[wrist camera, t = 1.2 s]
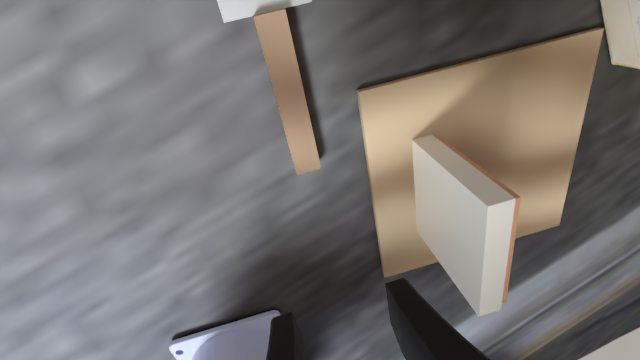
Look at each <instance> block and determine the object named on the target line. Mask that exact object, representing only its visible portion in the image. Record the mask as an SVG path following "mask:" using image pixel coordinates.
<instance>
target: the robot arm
mask: <svg viewBox="0 0 640 360" xmlns="http://www.w3.org/2000/svg"><path fill="white" fill-rule="evenodd" d="M385 285H386V292H387V300H388V307H389V314H390V321H391V325H392V327H393V330H394V333H395V335H396V338H397V340H398V343H399V345H400V348H401V350H402V353H403V355H404V357H405V359H406V360H490V359H489V358H487V357H486V356H485V355H484V354H483V353H482V352H480V351H479V350H478V349H477V348H476V347H474V346H473V345H472V344H471V343H470V342H469V341H467V340H466V339H465V338H464V337H463V336H462V335H461V334H460V333H459V332H457V331H456V330H455V329H454V328H453V327H452V326H451V325H450V324H449V323H448V322H447V321H446V320H444V319H443V318H442V317H441V316H440V315H439V314H438V313H437V312H436V311H435V310H434V309H433V308H432V307H431V306H430V305H429V304H428V303H427V302H426V301H425V300H424V299H423V297H422V296H421V295H420V294H419V293H418V292H417V291H416V290H415V289H414V288H413V287H412V285H411V284H410V283H409V282H408V281H407V280H406V279H404V278H402V279H398V280H395V281H392V282H389V283H385ZM169 350H170V351H171V353H172V354H173V355H174V357H175V358H176V359H177V360H308V355H307V351H306V347H305V345H304V342H303V339H302V337H301V334H300V331H299V329H298V326H297V323H296V321H295V318H294V315H293V313H292V312H290V313H287V314H283V315H281V314H280V312H279V311H277V310H271V311H268V312H265V313H262V314H258V315H255V316H252V317H248V318H245V319H242V320H238V321H235V322H232V323H228V324H225V325H222V326H219V327H215V328H212V329H209V330H205V331H202V332H199V333H195V334H192V335H189V336H185V337H182V338H179V339H176V340H173V341H172V342H171V343H170V346H169Z"/></svg>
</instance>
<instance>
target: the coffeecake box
mask: <svg viewBox="0 0 640 360" xmlns="http://www.w3.org/2000/svg"><path fill="white" fill-rule="evenodd" d="M600 2H601V7H602V13H603V20H604V25H605V30H606V36H607V41H608V47H609V52H610V57H611V64H613V65H621V66H626V67H632V68H637V69H640V0H600Z"/></svg>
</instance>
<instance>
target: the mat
mask: <svg viewBox="0 0 640 360" xmlns="http://www.w3.org/2000/svg"><path fill="white" fill-rule="evenodd" d="M603 31H604V28H594V29H590V30H586V31H582V32H579V33H575V34H571V35H567V36H563V37H559V38H555V39H552V40H548V41H544V42H540V43H536V44H532V45H529V46H525V47H521V48H517V49H513V50H509V51H505V52H502V53H498V54H494V55H490V56H486V57H482V58H479V59H475V60H471V61H467V62H463V63H459V64H455V65H452V66H448V67H444V68H440V69H436V70H432V71H429V72H425V73H421V74H417V75H413V76H409V77H405V78H402V79H398V80H394V81H390V82H386V83H382V84H379V85H375V86H371V87H367V88H363V89H359V90H357V97H358V104H359V111H360V118H361V125H362V132H363V140H364V147H365V154H366V161H367V168H368V175H369V182H370V189H371V196H372V203H373V210H374V217H375V224H376V231H377V238H378V245H379V252H380V259H381V266H382V274H383V276H384V278H387V277H390V276H393V275H396V274H400V273H403V272H406V271H410V270H413V269H416V268H420V267H423V266H426V265H429V264H433V263H436V262H439V261H438V260H437V258H436V257H435V256H434V254H433V253H432V251H431V250H430V249H429V247H428V246H427V245H426V243H425V242H424V240H423V239H422V238H421V236H420V235H419V233H418V232H417V220H416V203H415V186H414V169H413V152H412V139H416V138H420V137H423V136H427V135H430V134H432V135H433V136H434V137H436V138H437V137H440V138H442V139H443V140H445V141H446V142H447V143H449V144H450V145H451V146H453V147H454V148H455V149H457V150H458V151H459V152H461V153H462V154H463V155H465V156H466V157H467V158H469V159H470V160H471V161H473V162H474V163H476V164H477V165H478V166H480V167H481V168H482V169H484V170H485V171H486V172H488V173H489V174H490V175H492V176H493V177H494V178H496V179H497V180H498V181H500V182H501V183H503V184H504V185H505V186H507V187H508V188H509V189H511V190H512V191H513V192H515V193H516V194H517V195H519V196H520V197H521V200H520V207H519V214H518V221H517V228H516V235H515V238H519V237H522V236H525V235H529V234H532V233H535V232H538V231H542V230H545V229H548V228H552V227H555V226H558V225H559V224H560V220H561V215H562V211H563V206H564V202H565V198H566V193H567V189H568V185H569V180H570V176H571V171H572V167H573V163H574V158H575V154H576V149H577V145H578V141H579V136H580V132H581V127H582V123H583V119H584V114H585V110H586V106H587V101H588V97H589V92H590V88H591V84H592V79H593V75H594V70H595V66H596V62H597V57H598V53H599V49H600V44H601V40H602V35H603Z"/></svg>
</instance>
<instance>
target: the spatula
mask: <svg viewBox="0 0 640 360" xmlns="http://www.w3.org/2000/svg"><path fill="white" fill-rule="evenodd" d="M217 2H218V5H219V8H220V11H221V14H222V18H223V21H224V23H225V22H230V21H234V20H238V19H242V18H246V17H251V16H253V17H254V21H255V25H256V28H257V32H258V36H259V39H260V43H261V47H262V50H263V54H264V58H265V61H266V65H267V69H268V72H269V76H270V80H271V83H272V87H273V91H274V94H275V98H276V102H277V105H278V109H279V113H280V116H281V120H282V124H283V127H284V131H285V134H286V138H287V142H288V145H289V149H290V153H291V156H292V160H293V164H294V167H295V171H296V174H297V175H300V174H304V173H307V172H311V171H314V170H318V169H321V165H320V160H319V156H318V151H317V147H316V142H315V138H314V134H313V129H312V125H311V120H310V116H309V111H308V107H307V102H306V98H305V94H304V89H303V85H302V80H301V76H300V71H299V67H298V63H297V58H296V54H295V49H294V45H293V40H292V36H291V32H290V27H289V23H288V18H287V14H286V9H284V8H288V7H292V6H297V5H301V4H305V3H309V2H312V0H217Z"/></svg>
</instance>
